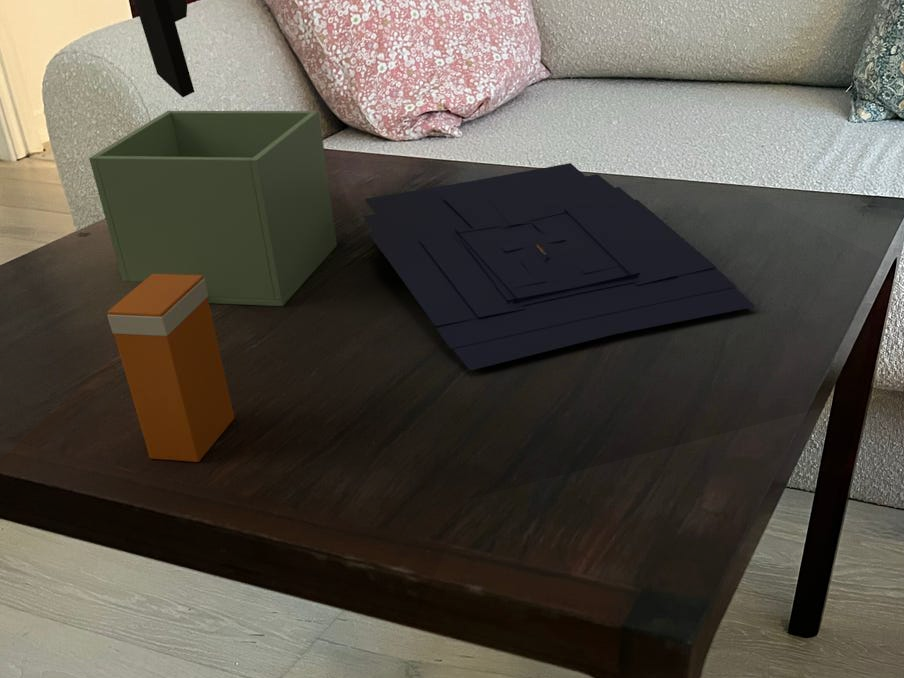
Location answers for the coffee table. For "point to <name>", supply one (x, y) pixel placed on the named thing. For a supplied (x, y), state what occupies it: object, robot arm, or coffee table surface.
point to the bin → (220, 201)
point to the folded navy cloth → (542, 263)
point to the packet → (173, 365)
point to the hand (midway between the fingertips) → (64, 136)
